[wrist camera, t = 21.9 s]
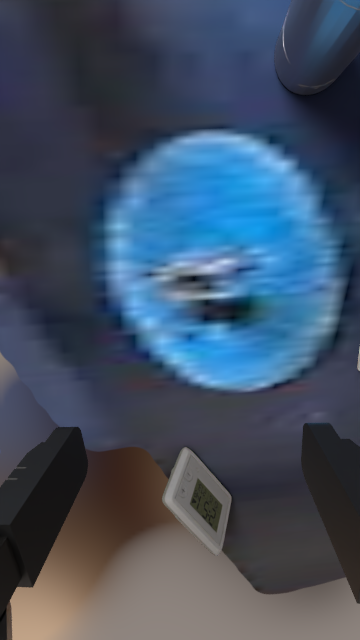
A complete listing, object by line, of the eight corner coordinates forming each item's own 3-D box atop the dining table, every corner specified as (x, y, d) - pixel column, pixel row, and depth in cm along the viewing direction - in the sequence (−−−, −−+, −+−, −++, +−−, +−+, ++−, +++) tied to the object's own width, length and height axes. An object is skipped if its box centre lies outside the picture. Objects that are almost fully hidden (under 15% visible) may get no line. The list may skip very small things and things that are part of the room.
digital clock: (233, 497, 57) (240, 553, 47) (195, 508, 59) (193, 564, 49) (201, 438, 53) (201, 485, 43) (161, 452, 55) (152, 500, 45)
